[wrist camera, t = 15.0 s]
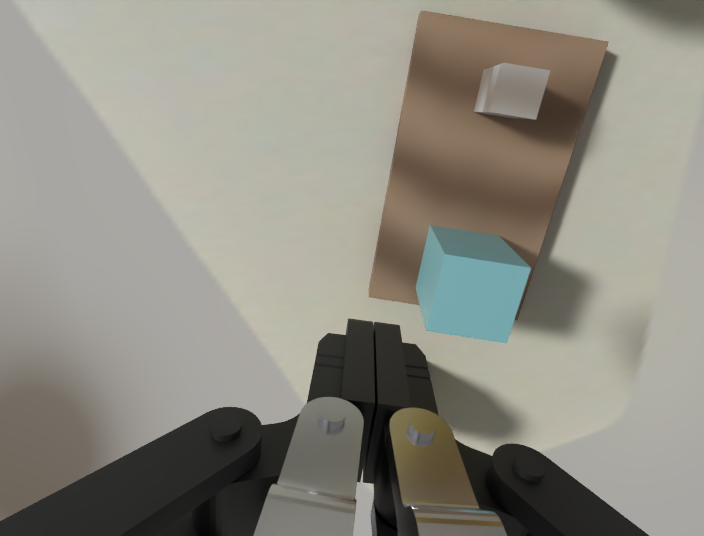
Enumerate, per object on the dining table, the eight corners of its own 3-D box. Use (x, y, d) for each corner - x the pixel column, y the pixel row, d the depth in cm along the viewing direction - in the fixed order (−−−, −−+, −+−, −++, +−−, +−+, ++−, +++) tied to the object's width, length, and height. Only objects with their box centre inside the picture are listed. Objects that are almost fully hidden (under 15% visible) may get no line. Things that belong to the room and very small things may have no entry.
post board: (418, 15, 28) (431, -8, 22) (596, 45, 28) (653, 29, 23) (368, 289, 35) (368, 324, 29) (511, 311, 35) (537, 350, 30)
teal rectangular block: (429, 224, 31) (444, 254, 25) (498, 235, 31) (531, 267, 25) (415, 288, 33) (426, 330, 27) (480, 298, 33) (506, 343, 27)
